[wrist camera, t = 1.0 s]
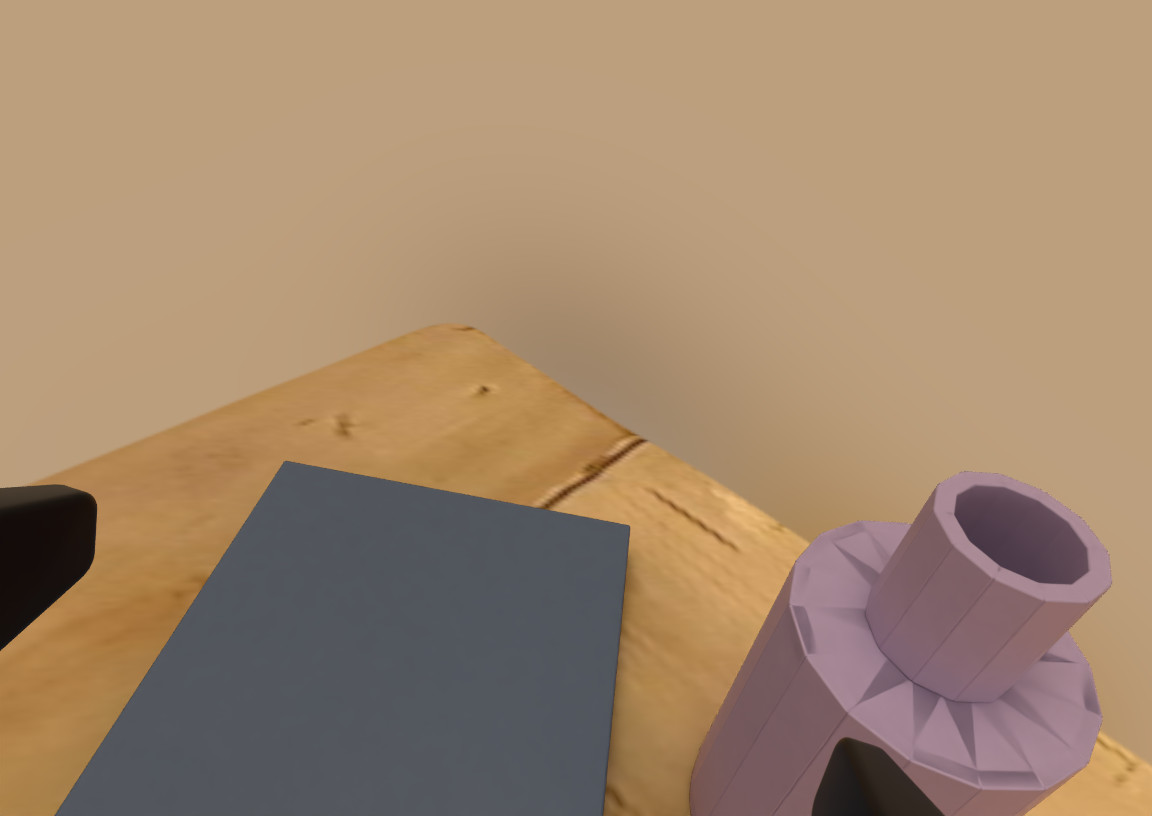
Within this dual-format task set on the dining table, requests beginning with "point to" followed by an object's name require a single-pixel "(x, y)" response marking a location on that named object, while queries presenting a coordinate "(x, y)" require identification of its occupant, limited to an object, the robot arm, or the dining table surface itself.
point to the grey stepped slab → (380, 664)
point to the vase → (921, 659)
